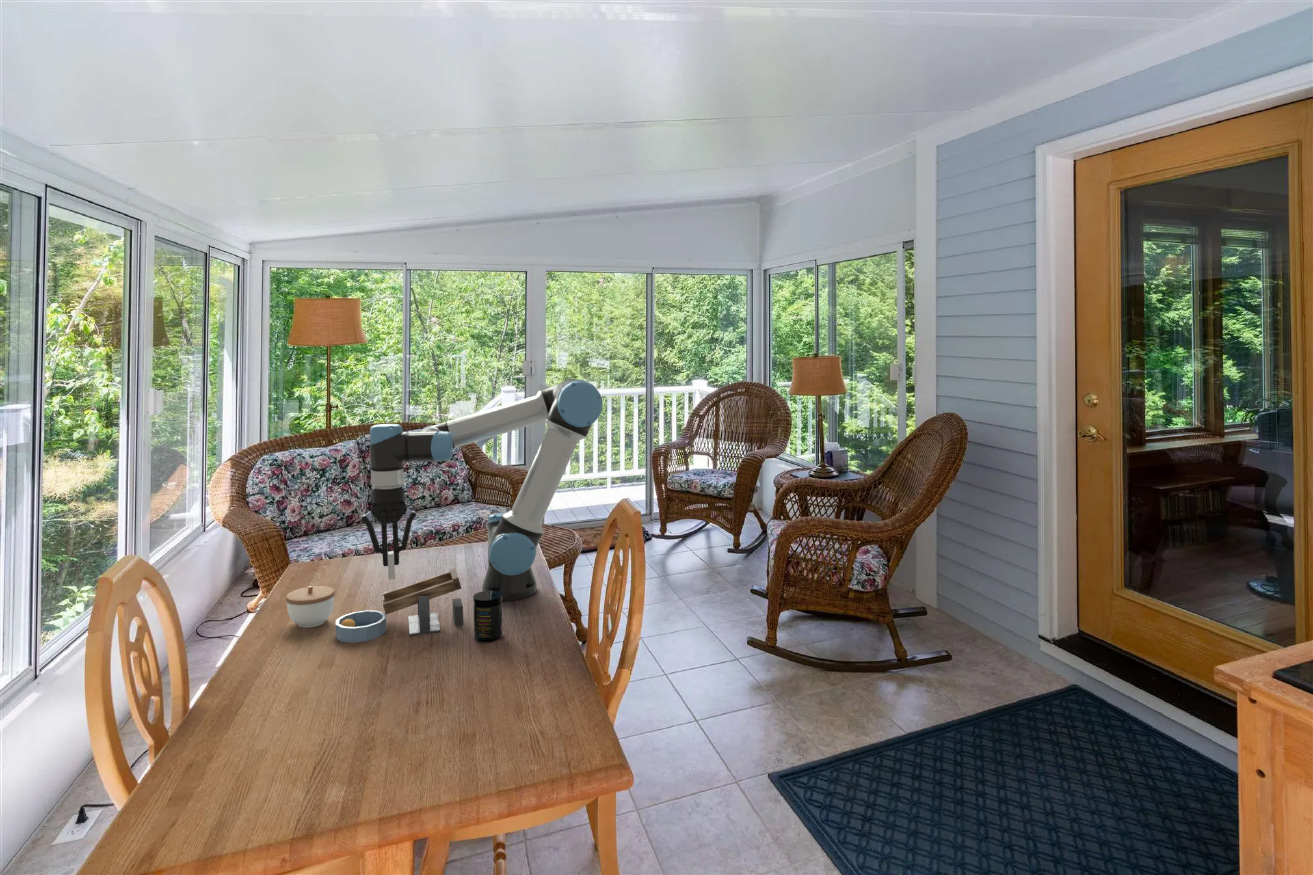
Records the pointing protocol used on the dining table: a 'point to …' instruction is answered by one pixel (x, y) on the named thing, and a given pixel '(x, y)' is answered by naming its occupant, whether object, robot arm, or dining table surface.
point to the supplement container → (488, 616)
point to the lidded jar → (310, 605)
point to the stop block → (458, 611)
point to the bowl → (361, 626)
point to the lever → (420, 591)
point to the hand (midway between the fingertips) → (391, 577)
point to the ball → (348, 623)
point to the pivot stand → (423, 619)
